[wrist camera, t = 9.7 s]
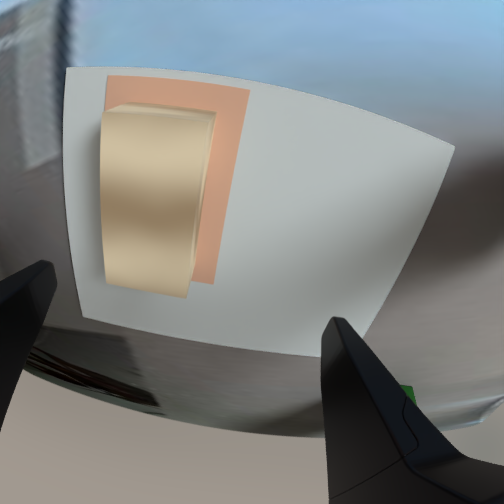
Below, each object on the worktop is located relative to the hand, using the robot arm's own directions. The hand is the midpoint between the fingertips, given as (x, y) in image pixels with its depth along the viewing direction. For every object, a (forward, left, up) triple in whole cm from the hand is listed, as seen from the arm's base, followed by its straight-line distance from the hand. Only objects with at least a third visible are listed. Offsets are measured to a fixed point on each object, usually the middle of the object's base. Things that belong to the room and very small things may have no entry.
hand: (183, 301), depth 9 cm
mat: (-2, +4, -11) cm, 12 cm away
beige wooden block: (+3, +1, -10) cm, 11 cm away
